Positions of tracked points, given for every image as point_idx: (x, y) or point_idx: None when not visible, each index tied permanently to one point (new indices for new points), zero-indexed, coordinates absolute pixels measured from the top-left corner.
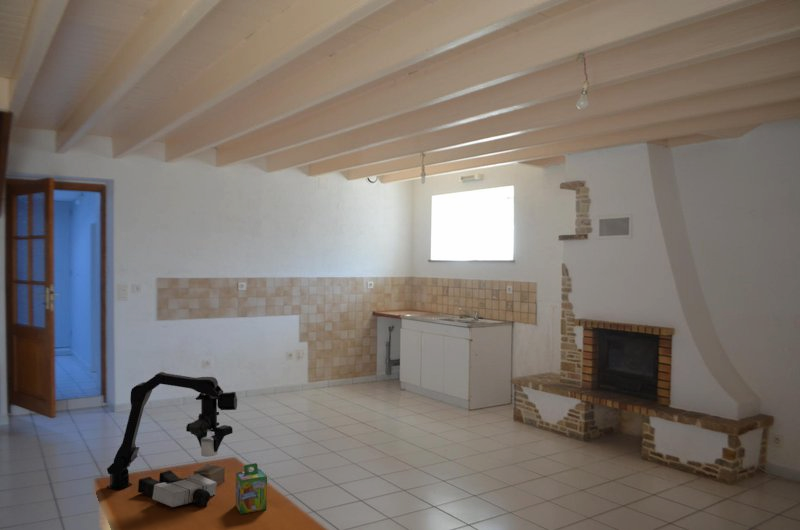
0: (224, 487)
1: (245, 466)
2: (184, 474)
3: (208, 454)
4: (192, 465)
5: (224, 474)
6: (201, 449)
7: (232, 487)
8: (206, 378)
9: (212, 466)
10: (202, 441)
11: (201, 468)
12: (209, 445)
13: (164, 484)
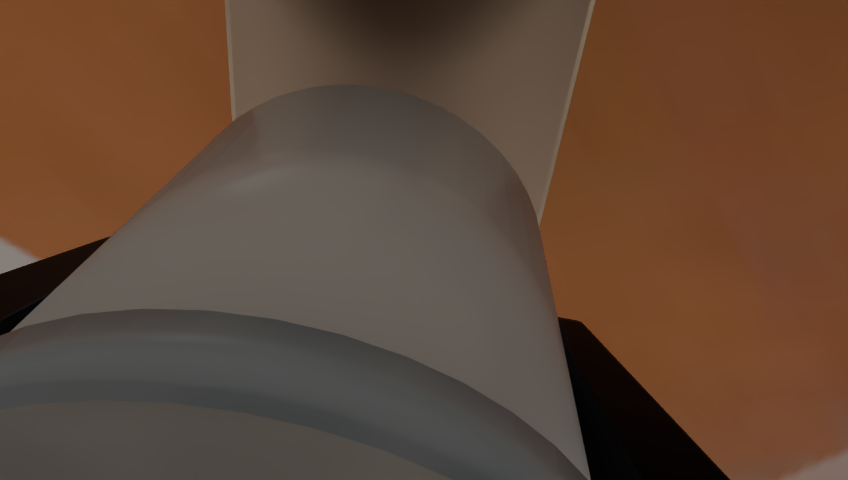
0: (188, 21)
1: None
2: (836, 247)
3: (239, 122)
4: (834, 437)
5: None
6: (496, 215)
7: (110, 46)
8: None
9: None
10: (353, 368)
11: (525, 116)
12: (70, 275)
13: None
